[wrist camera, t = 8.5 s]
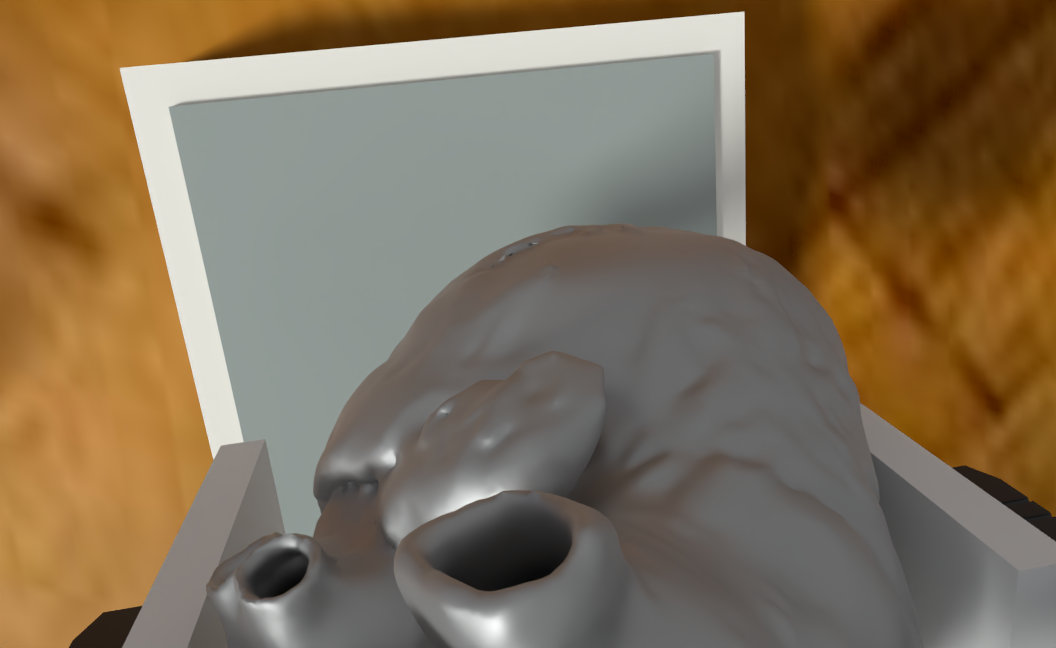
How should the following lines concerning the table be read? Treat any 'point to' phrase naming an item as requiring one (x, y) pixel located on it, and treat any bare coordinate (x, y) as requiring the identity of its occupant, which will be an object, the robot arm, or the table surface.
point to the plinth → (409, 193)
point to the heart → (593, 469)
